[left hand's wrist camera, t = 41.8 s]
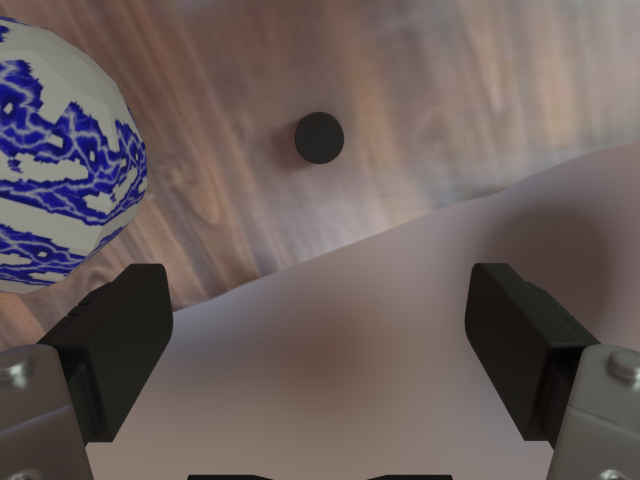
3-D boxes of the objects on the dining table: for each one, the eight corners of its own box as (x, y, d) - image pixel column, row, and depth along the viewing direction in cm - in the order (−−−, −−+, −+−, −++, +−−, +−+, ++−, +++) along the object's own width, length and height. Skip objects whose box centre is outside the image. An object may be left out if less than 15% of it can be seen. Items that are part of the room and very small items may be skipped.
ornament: (206, 221, 27) (27, 388, 32) (195, 109, 42) (74, 234, 47) (-227, -72, 15) (-411, 269, 20) (-25, -83, 30) (-158, 113, 34)
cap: (343, 157, 40) (344, 162, 38) (298, 160, 40) (296, 165, 38) (341, 110, 38) (343, 112, 36) (294, 113, 38) (293, 115, 36)
